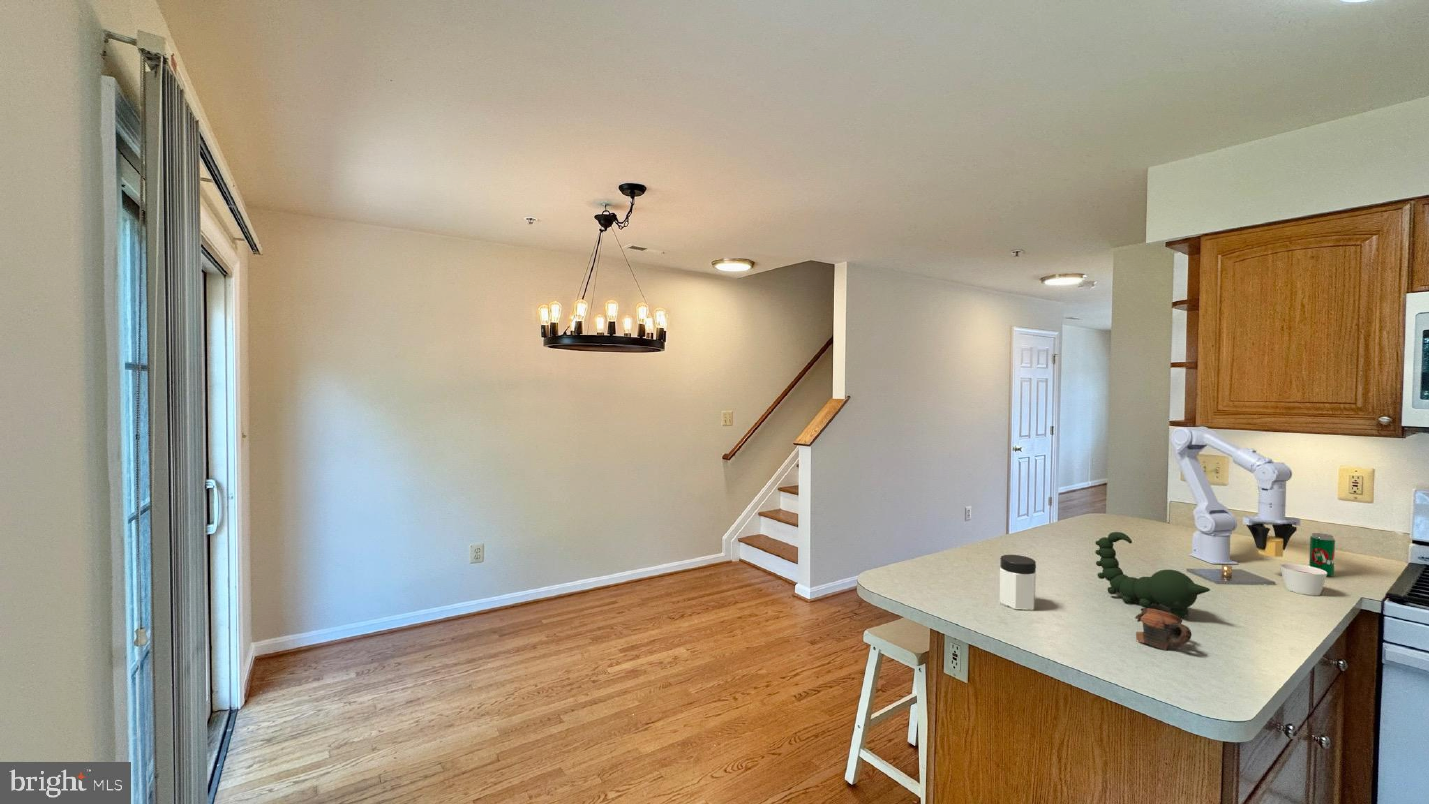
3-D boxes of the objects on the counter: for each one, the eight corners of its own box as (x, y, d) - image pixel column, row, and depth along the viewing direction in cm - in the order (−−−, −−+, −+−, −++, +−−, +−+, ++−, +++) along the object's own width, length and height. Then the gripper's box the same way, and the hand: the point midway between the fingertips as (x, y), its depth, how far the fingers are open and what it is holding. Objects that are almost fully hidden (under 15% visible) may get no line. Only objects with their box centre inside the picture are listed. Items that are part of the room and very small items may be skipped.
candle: (1315, 588, 156) (1316, 566, 156) (1334, 599, 148) (1335, 576, 148) (1272, 583, 160) (1273, 561, 160) (1289, 594, 152) (1289, 571, 152)
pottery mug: (1120, 638, 128) (1126, 603, 130) (1154, 654, 128) (1159, 619, 131) (1173, 648, 116) (1178, 609, 119) (1209, 665, 117) (1214, 627, 120)
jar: (1043, 607, 144) (1044, 561, 143) (1023, 613, 140) (1023, 566, 140) (1012, 596, 152) (1012, 552, 151) (991, 601, 148) (992, 556, 148)
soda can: (1322, 571, 170) (1323, 532, 170) (1339, 577, 165) (1340, 537, 165) (1304, 571, 170) (1305, 532, 170) (1320, 576, 165) (1321, 536, 165)
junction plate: (1186, 571, 171) (1186, 558, 171) (1241, 571, 170) (1241, 559, 170) (1216, 583, 160) (1216, 570, 160) (1275, 584, 159) (1275, 571, 159)
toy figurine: (1091, 600, 152) (1201, 628, 130) (1086, 531, 153) (1194, 546, 131) (1113, 595, 156) (1223, 621, 133) (1108, 527, 157) (1216, 541, 134)
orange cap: (1254, 551, 168) (1254, 535, 168) (1271, 551, 168) (1272, 535, 168) (1269, 556, 163) (1270, 539, 163) (1287, 556, 163) (1288, 539, 163)
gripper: (1258, 506, 161) (1257, 552, 162) (1311, 506, 161) (1309, 553, 161) (1237, 501, 168) (1235, 545, 169) (1287, 501, 168) (1286, 546, 168)
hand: (1270, 548), depth 165 cm, fingers closed on orange cap, 5 cm apart
